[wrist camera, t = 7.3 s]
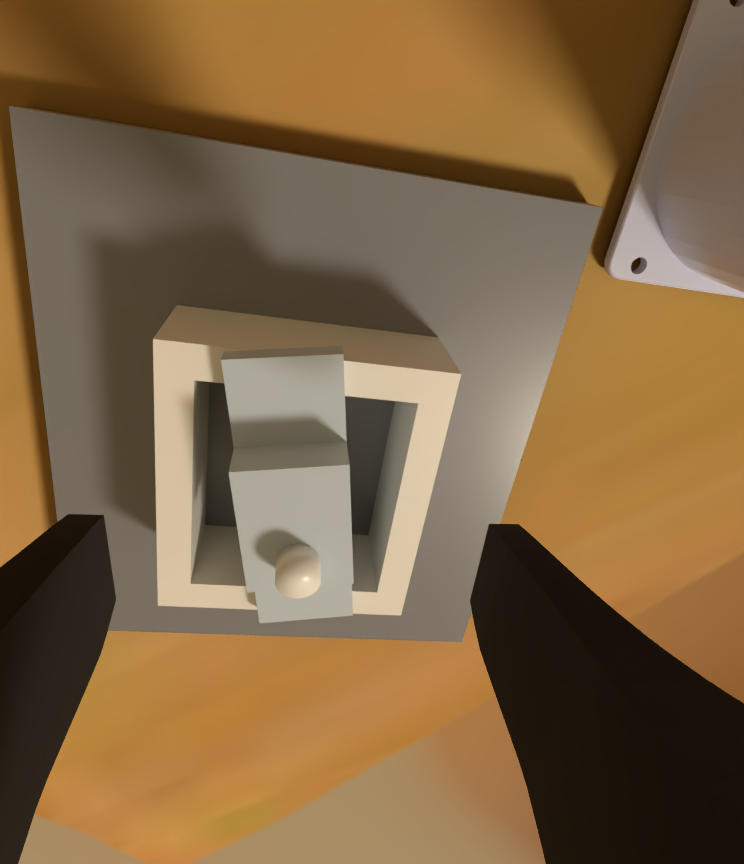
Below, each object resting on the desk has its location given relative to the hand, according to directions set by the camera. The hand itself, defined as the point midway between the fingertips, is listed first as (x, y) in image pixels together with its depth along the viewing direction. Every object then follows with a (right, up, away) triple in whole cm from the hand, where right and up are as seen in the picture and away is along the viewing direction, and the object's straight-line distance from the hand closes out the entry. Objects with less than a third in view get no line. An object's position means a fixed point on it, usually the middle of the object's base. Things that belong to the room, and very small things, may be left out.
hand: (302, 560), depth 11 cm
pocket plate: (-1, +2, +9) cm, 10 cm away
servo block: (-1, +2, +8) cm, 9 cm away
